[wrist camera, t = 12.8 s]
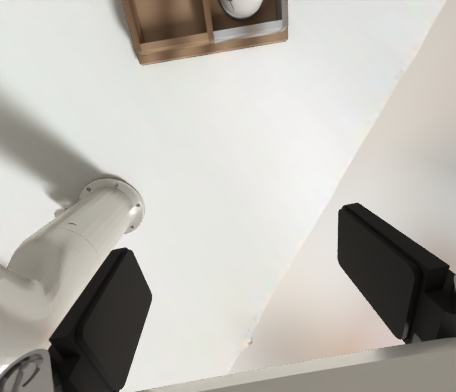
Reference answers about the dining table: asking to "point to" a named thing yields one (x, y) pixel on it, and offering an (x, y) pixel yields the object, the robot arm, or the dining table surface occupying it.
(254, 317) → the dining table surface
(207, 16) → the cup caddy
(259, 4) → the travel mug
